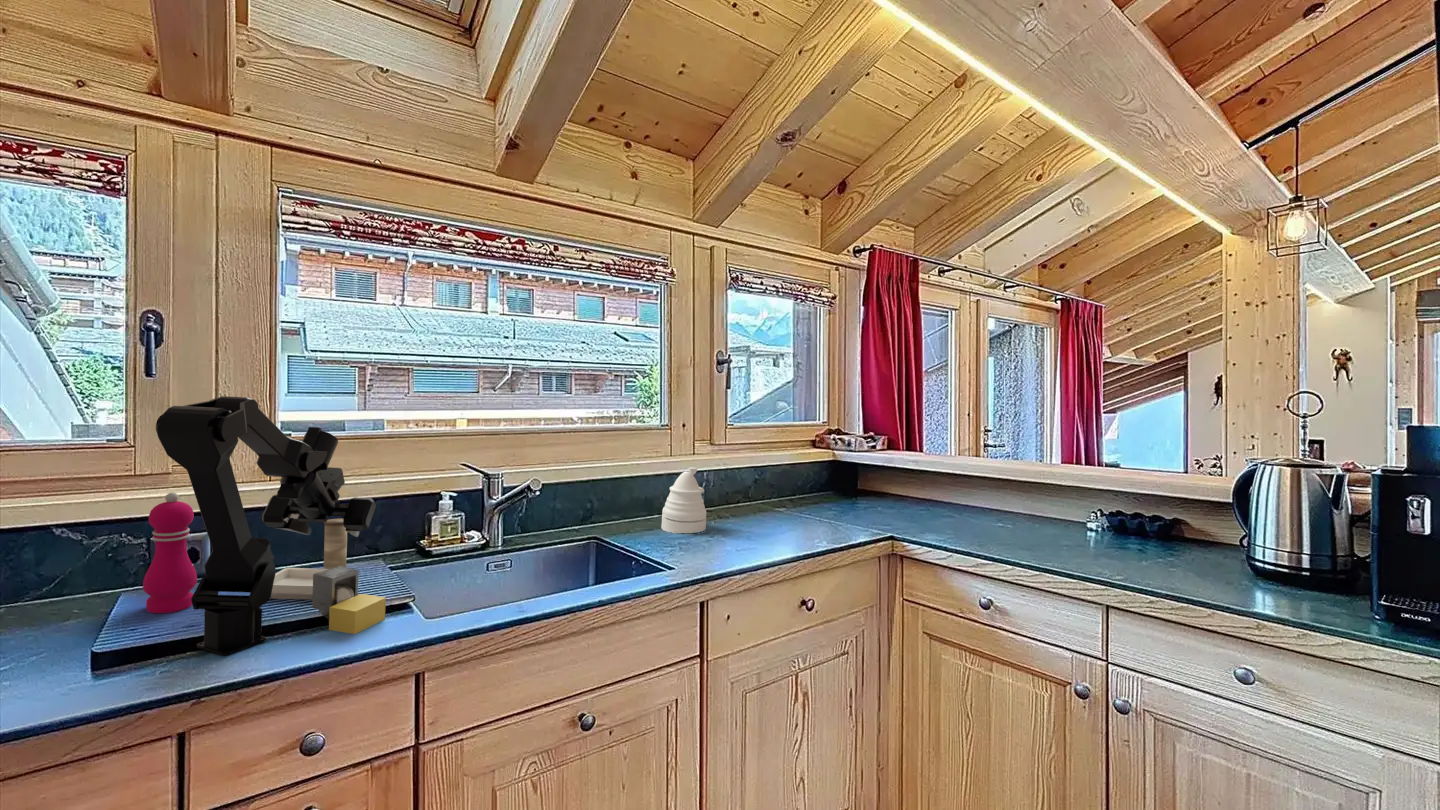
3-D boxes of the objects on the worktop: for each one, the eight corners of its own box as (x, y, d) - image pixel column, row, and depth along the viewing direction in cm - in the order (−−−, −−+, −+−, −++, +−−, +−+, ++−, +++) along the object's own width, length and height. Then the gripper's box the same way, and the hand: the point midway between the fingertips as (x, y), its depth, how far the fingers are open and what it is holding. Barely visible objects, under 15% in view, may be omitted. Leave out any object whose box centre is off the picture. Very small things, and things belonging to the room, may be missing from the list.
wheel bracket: (334, 625, 112) (335, 579, 112) (308, 618, 114) (309, 573, 114) (360, 614, 117) (362, 570, 117) (335, 608, 119) (336, 565, 119)
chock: (354, 635, 109) (355, 611, 109) (328, 630, 110) (329, 607, 110) (384, 619, 116) (385, 597, 116) (360, 615, 117) (360, 593, 117)
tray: (325, 599, 123) (325, 586, 123) (255, 598, 122) (256, 584, 121) (349, 581, 133) (350, 569, 133) (285, 580, 132) (285, 567, 131)
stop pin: (332, 578, 134) (333, 524, 133) (317, 575, 135) (318, 521, 135) (352, 573, 138) (353, 520, 137) (337, 569, 139) (338, 517, 139)
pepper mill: (166, 617, 111) (167, 498, 110) (131, 611, 112) (132, 494, 111) (207, 602, 118) (209, 491, 117) (174, 597, 120) (175, 487, 118)
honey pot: (714, 528, 195) (718, 468, 194) (688, 536, 184) (692, 472, 183) (678, 521, 202) (682, 462, 201) (652, 528, 191) (655, 466, 190)
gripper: (373, 458, 130) (393, 501, 141) (271, 453, 128) (300, 498, 139) (354, 507, 122) (377, 549, 134) (246, 503, 120) (278, 545, 132)
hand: (333, 533), depth 135 cm, fingers open, 9 cm apart
